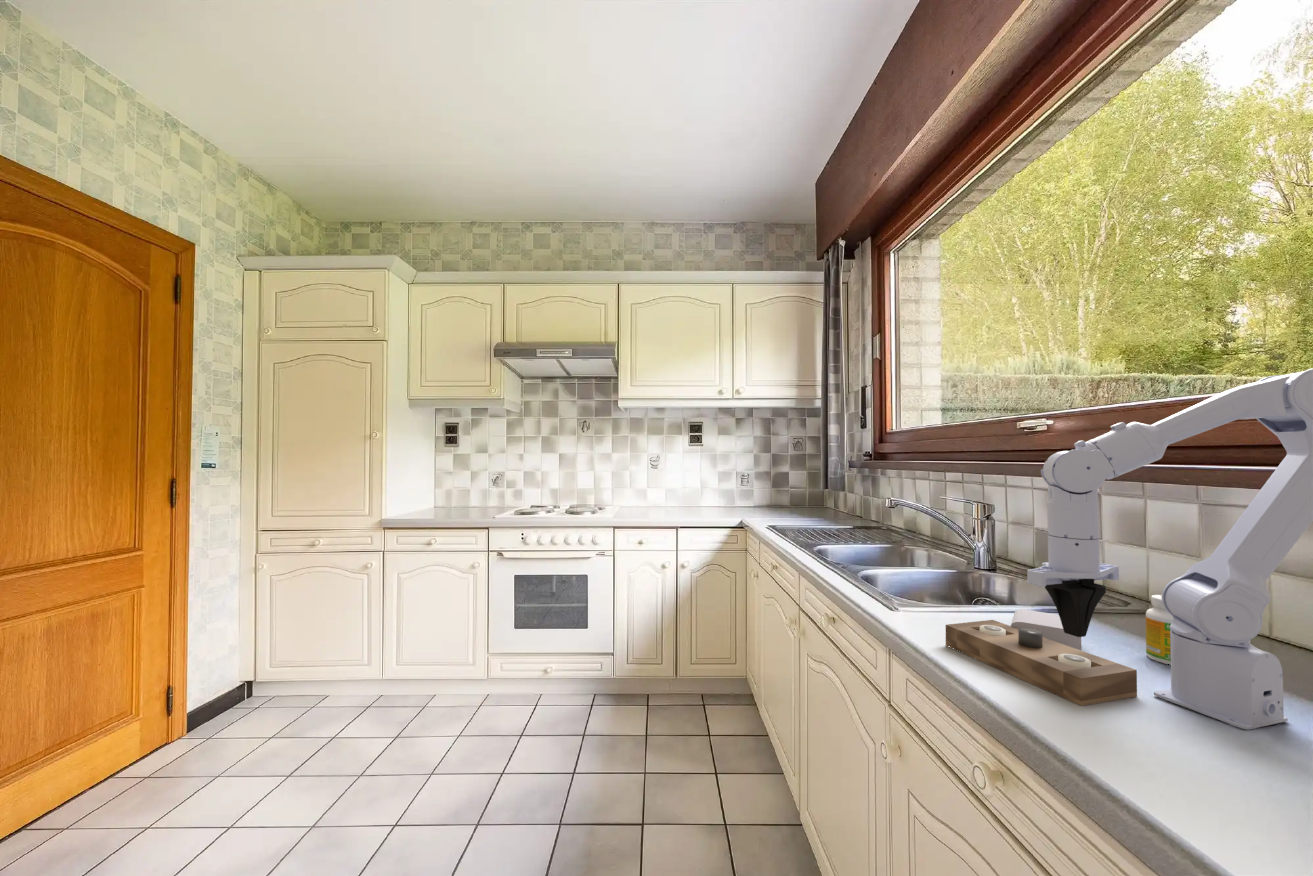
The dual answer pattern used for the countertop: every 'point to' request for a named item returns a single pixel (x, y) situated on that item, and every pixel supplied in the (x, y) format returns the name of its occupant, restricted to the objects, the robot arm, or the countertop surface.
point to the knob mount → (1045, 664)
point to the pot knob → (1030, 638)
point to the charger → (1045, 626)
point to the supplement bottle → (1158, 631)
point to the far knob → (992, 630)
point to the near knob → (1074, 661)
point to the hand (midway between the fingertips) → (1074, 634)
